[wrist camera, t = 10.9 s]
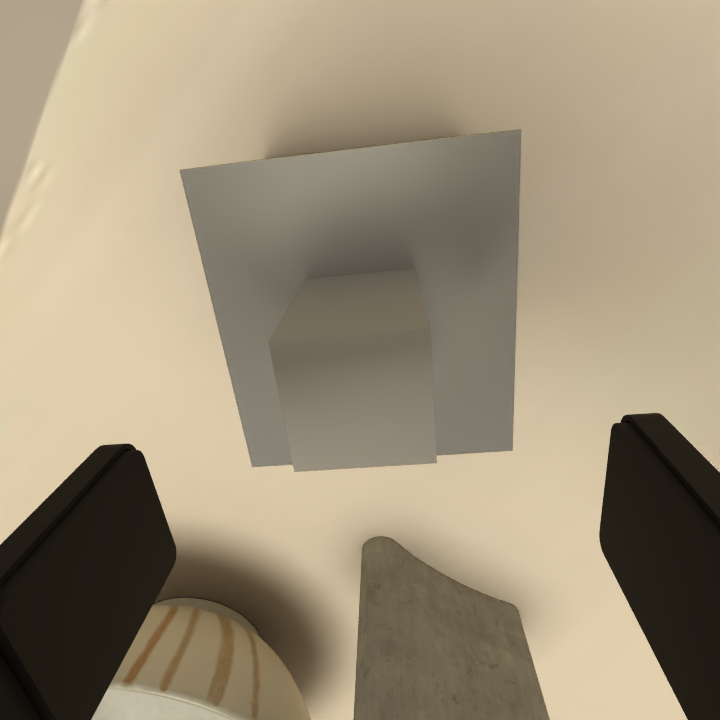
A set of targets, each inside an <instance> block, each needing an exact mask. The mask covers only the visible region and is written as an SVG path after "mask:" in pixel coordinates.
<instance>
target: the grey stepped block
mask: <svg viewBox="0 0 720 720" xmlns="http://www.w3.org/2000/svg"><path fill="white" fill-rule="evenodd" d="M520 152H521V129H520V130H511V131H501V132H491V133H482V134H472V135H463V136H454V137H446V138H437V139H429V140H420V141H412V142H404V143H395V144H387V145H378V146H370V147H361V148H353V149H345V150H336V151H328V152H319V153H311V154H302V155H294V156H286V157H277V158H269V159H261V160H253V161H245V162H237V163H230V164H222V165H214V166H206V167H198V168H191V169H183V170H180V174H181V178H182V182H183V186H184V190H185V194H186V198H187V202H188V206H189V210H190V214H191V218H192V223H193V227H194V231H195V235H196V239H197V243H198V247H199V251H200V255H201V259H202V263H203V268H204V272H205V276H206V280H207V284H208V288H209V292H210V296H211V300H212V304H213V308H214V312H215V317H216V321H217V325H218V329H219V333H220V337H221V341H222V345H223V349H224V353H225V357H226V361H227V366H228V370H229V374H230V378H231V382H232V386H233V390H234V394H235V398H236V402H237V406H238V410H239V415H240V419H241V423H242V427H243V431H244V435H245V439H246V443H247V447H248V451H249V455H250V459H251V464H252V467H261V466H277V465H292V464H293V467H294V472H300V471H316V470H332V469H348V468H364V467H380V466H397V465H413V464H429V463H437V460H436V455H451V454H466V453H482V452H498V451H513V415H514V377H515V340H516V302H517V265H518V227H519V190H520Z"/></svg>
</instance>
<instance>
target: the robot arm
mask: <svg viewBox="0 0 720 720" xmlns="http://www.w3.org/2000/svg"><path fill="white" fill-rule="evenodd" d="M599 537H600V544H601V548H602V551H603V554H604V556H605V558H606V560H607V562H608V564H609V566H610V568H611V570H612V571H613V573H614V575H615V577H616V579H617V581H618V583H619V585H620V587H621V589H622V591H623V593H624V595H625V597H626V599H627V601H628V603H629V605H630V607H631V609H632V611H633V613H634V615H635V617H636V619H637V621H638V623H639V625H640V627H641V628H642V630H643V632H644V634H645V636H646V638H647V640H648V642H649V644H650V646H651V648H652V650H653V652H654V654H655V656H656V658H657V660H658V662H659V664H660V666H661V668H662V670H663V672H664V674H665V676H666V678H667V680H668V682H669V684H670V686H671V687H672V689H673V691H674V693H675V695H676V697H677V699H678V701H679V703H680V705H681V707H682V709H683V711H684V713H685V715H686V717H687V719H688V720H720V473H719V472H718V471H717V470H716V469H715V468H714V467H713V466H712V465H711V464H710V462H709V461H708V460H707V459H706V458H705V457H704V456H703V455H702V454H701V453H700V452H699V451H698V450H697V449H696V448H695V447H694V446H693V445H692V444H691V443H690V442H689V441H688V440H687V439H686V438H685V437H684V436H683V435H682V434H681V433H680V432H679V431H678V430H677V429H676V428H675V427H674V426H673V425H672V424H671V423H670V422H669V421H668V420H667V419H666V418H665V417H664V416H662V415H661V414H659V413H650V414H633V415H625V416H623V418H622V420H621V423H615V424H613V426H612V429H611V436H610V445H609V453H608V462H607V471H606V480H605V488H604V497H603V506H602V515H601V523H600V533H599ZM175 560H176V546H175V543H174V540H173V537H172V535H171V532H170V529H169V526H168V523H167V520H166V518H165V515H164V512H163V509H162V506H161V503H160V500H159V498H158V495H157V492H156V489H155V486H154V483H153V480H152V478H151V475H150V472H149V469H148V466H147V463H146V460H145V458H144V455H143V453H142V452H141V451H139V450H136V449H135V447H134V446H133V445H131V444H115V445H102V446H100V447H98V448H97V449H96V450H95V451H94V452H93V453H92V454H91V455H90V456H89V457H88V458H87V459H86V460H85V461H84V462H83V463H82V464H81V465H80V466H79V467H78V468H77V469H76V470H75V471H74V472H73V473H72V474H71V475H70V476H69V477H68V478H67V479H66V480H65V481H64V482H63V483H62V484H61V485H60V486H59V487H58V488H57V489H56V490H55V491H54V492H53V493H52V494H51V495H50V496H49V497H48V498H47V499H46V500H45V501H44V502H43V503H42V504H41V505H40V506H39V507H38V508H37V509H36V510H35V511H34V512H33V513H32V514H31V515H30V516H29V517H28V518H27V519H26V520H25V521H24V522H23V523H22V524H21V525H20V526H19V527H18V528H17V529H16V530H15V531H14V532H13V533H12V534H11V535H10V536H9V537H8V538H7V539H6V540H5V541H4V542H3V543H2V544H1V545H0V720H91V719H92V717H93V716H94V714H95V712H96V710H97V708H98V706H99V704H100V703H101V701H102V699H103V697H104V695H105V693H106V691H107V689H108V688H109V686H110V684H111V682H112V680H113V678H114V676H115V675H116V673H117V671H118V669H119V667H120V665H121V663H122V661H123V660H124V658H125V656H126V654H127V652H128V650H129V648H130V646H131V645H132V643H133V641H134V639H135V637H136V635H137V633H138V632H139V630H140V628H141V626H142V624H143V622H144V620H145V618H146V617H147V615H148V613H149V611H150V609H151V607H152V605H153V603H154V602H155V600H156V598H157V596H158V594H159V592H160V590H161V589H162V587H163V585H164V583H165V581H166V579H167V577H168V575H169V574H170V572H171V570H172V568H173V566H174V564H175Z"/></svg>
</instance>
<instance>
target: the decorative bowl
mask: <svg viewBox="0 0 720 720" xmlns="http://www.w3.org/2000/svg"><path fill="white" fill-rule="evenodd" d="M91 720H311V718H310V715H309V713H308V710H307V707H306V705H305V702H304V700H303V697H302V695H301V693H300V691H299V689H298V687H297V685H296V683H295V681H294V679H293V678H292V676H291V674H290V673H289V671H288V669H287V668H286V666H285V665H284V663H283V662H282V661H281V660H280V658H279V657H278V656H277V654H276V653H275V652H274V651H273V650H272V649H271V648H270V647H269V646H268V645H267V644H266V643H265V642H264V641H263V640H262V639H261V638H260V636H259V634H258V632H257V630H256V629H255V628H254V626H253V625H252V624H251V623H250V622H249V621H248V620H247V619H246V618H244V617H243V616H242V615H240V614H239V613H237V612H236V611H234V610H232V609H230V608H228V607H226V606H224V605H221V604H219V603H216V602H212V601H208V600H204V599H197V598H174V599H168V600H164V601H161V602H158V603H156V604H154V605H152V607H151V609H150V611H149V613H148V615H147V617H146V618H145V620H144V622H143V624H142V626H141V628H140V630H139V632H138V633H137V635H136V637H135V639H134V641H133V643H132V645H131V646H130V648H129V650H128V652H127V654H126V656H125V658H124V660H123V661H122V663H121V665H120V667H119V669H118V671H117V673H116V675H115V676H114V678H113V680H112V682H111V684H110V686H109V688H108V689H107V691H106V693H105V695H104V697H103V699H102V701H101V703H100V704H99V706H98V708H97V710H96V712H95V714H94V716H93V717H92V719H91Z"/></svg>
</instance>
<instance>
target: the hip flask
mask: <svg viewBox="0 0 720 720" xmlns="http://www.w3.org/2000/svg"><path fill="white" fill-rule="evenodd" d="M354 720H550V719H549V716H548V712H547V709H546V705H545V702H544V699H543V695H542V692H541V688H540V685H539V681H538V678H537V674H536V671H535V667H534V664H533V661H532V657H531V654H530V650H529V647H528V643H527V640H526V636H525V633H524V630H523V626H522V623H521V619H520V616H519V612H518V610H517V608H516V607H515V606H514V605H512V604H510V603H507V602H504V601H501V600H498V599H495V598H492V597H489V596H487V595H485V594H482V593H480V592H477V591H475V590H473V589H471V588H468V587H466V586H464V585H462V584H460V583H458V582H456V581H455V580H453V579H451V578H449V577H447V576H445V575H443V574H442V573H440V572H438V571H436V570H435V569H433V568H431V567H430V566H428V565H427V564H425V563H423V562H422V561H420V560H419V559H417V558H416V557H415V556H413V555H412V554H410V553H409V552H408V551H406V550H405V549H404V548H403V547H401V546H400V545H399V544H398V543H397V542H395V541H394V540H392V539H390V538H387V537H375V538H372V539H370V540H368V541H367V542H366V543H365V544H364V546H363V549H362V564H361V584H360V604H359V624H358V643H357V663H356V683H355V703H354Z"/></svg>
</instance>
